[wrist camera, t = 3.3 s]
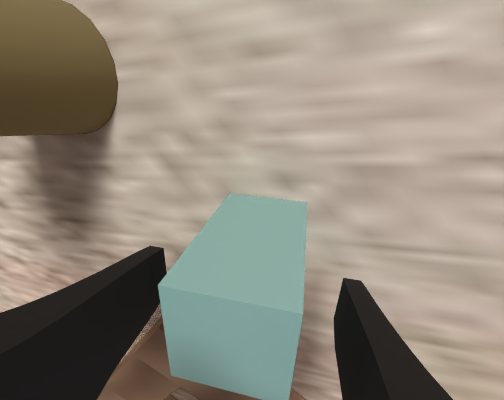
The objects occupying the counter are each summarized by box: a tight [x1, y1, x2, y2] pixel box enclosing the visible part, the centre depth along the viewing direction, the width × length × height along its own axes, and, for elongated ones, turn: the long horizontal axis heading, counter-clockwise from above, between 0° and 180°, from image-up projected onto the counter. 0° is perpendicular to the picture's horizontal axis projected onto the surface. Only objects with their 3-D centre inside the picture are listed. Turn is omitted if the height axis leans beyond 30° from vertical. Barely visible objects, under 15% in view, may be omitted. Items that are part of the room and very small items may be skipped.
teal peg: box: [158, 193, 307, 400], centre depth 11 cm, size 4×4×7 cm
